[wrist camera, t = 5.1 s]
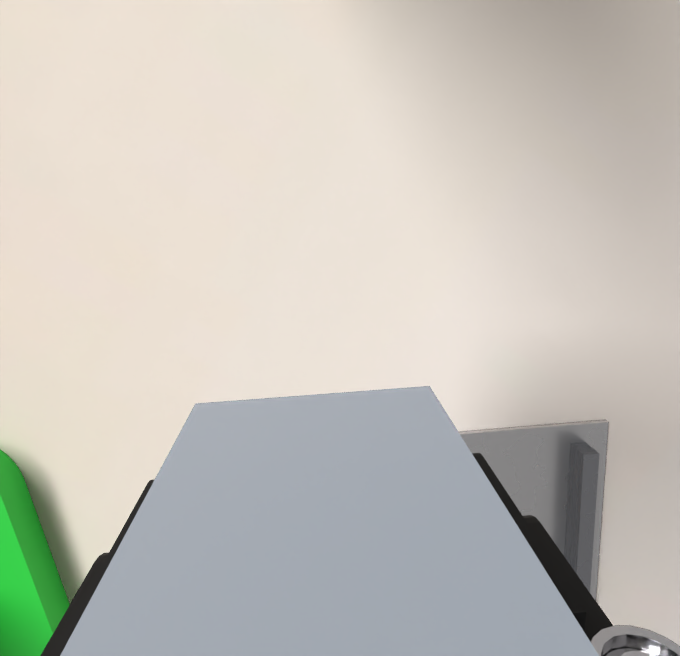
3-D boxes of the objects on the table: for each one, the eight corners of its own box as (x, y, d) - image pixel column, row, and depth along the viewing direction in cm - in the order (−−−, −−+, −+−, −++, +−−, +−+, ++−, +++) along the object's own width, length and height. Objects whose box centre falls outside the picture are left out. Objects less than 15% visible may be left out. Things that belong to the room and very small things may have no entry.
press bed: (378, 438, 25) (382, 453, 23) (604, 419, 25) (624, 432, 24) (387, 647, 28) (391, 673, 26) (590, 626, 28) (607, 650, 27)
